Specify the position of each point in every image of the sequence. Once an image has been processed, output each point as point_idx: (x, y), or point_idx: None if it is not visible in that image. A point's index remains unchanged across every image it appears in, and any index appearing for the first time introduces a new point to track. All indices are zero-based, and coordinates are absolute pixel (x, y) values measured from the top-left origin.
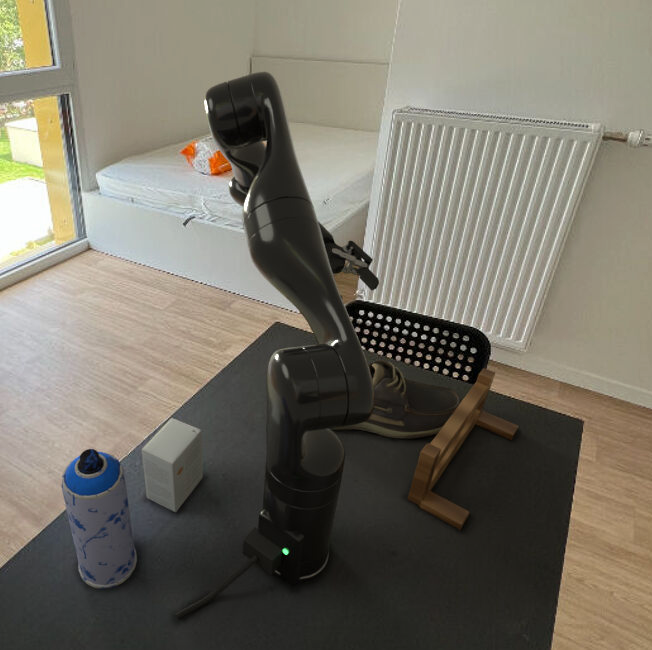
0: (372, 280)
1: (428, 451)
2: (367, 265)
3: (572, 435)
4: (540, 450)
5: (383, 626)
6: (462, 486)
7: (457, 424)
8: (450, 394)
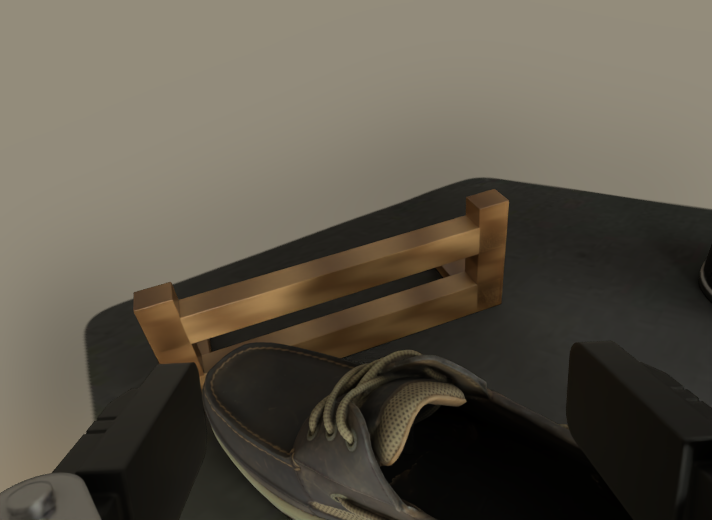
0: (185, 391)
1: (494, 198)
2: (19, 483)
3: (113, 306)
4: None
5: (645, 208)
6: (388, 295)
7: (360, 250)
8: (226, 377)
